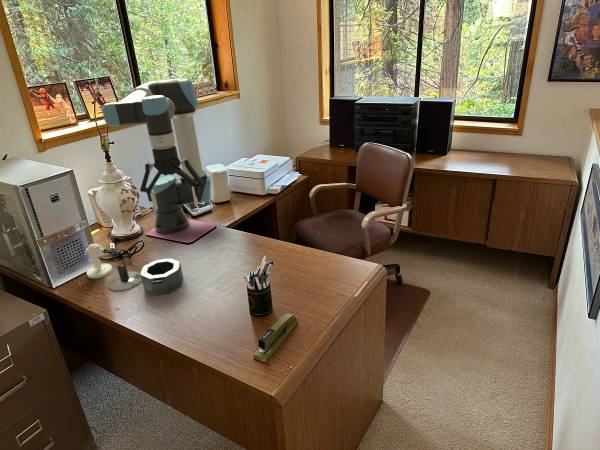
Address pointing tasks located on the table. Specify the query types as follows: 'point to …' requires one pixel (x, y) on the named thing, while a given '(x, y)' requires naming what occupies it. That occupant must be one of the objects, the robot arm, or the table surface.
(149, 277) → the pot
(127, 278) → the black peg on disc
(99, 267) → the figurine
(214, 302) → the table surface
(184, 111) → the robot arm
